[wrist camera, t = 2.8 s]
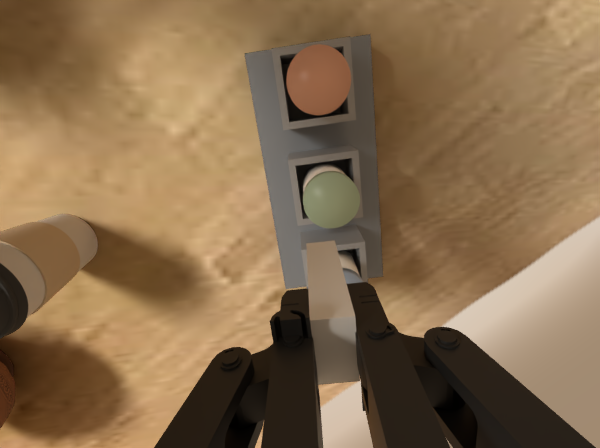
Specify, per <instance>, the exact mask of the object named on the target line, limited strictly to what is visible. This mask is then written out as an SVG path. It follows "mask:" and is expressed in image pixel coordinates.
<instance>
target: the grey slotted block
mask: <svg viewBox="0 0 600 448" xmlns="http://www.w3.org/2000/svg"><path fill="white" fill-rule="evenodd" d="M317 44H322V45H328V46H330V47H333V48H334V49H336V50H337V51H339V52H340V53H341V54H342V55H343V57H344V58H345V59H346V61H347V63H348V65H349V68H350V73H351V86H350V90H349V93H348V95H347V97H346V99H345V101H344V102H343V103H342V104H341V106H339V107H338V108H337V109H336V110H334V111H333V112H331V113H328V114H324V115H312V114H308V113H305V112H304V111H302V110H300V109H299V108H298V107H297V106H296V105H295V104H294V103H293V101H292V100H291V98H290V95H289V93H288V89H287V72H288V68H289V66H290V63H291V62H292V60H293V58H294V57H295V56H296V55H297V54H298V53H299V52H300V51H301V50H303V49H304V48H306V47H308V46H311V45H317ZM245 59H246V65H247V70H248V76H249V82H250V87H251V93H252V99H253V105H254V110H255V116H256V122H257V127H258V133H259V139H260V145H261V150H262V156H263V162H264V167H265V173H266V179H267V184H268V190H269V196H270V202H271V207H272V213H273V219H274V224H275V230H276V236H277V241H278V247H279V253H280V259H281V264H282V270H283V276H284V281H285V287H286V289H289V288H297V287H305V286H307V289H308V271H307V248H306V243H315V242H325V241H334V240H335V244H336V247H337V251H340V250H347V251H348V252H349V253H350V254H351V255H352V257H353V260H354V262H355V265H356V267H357V270H358V272H359V275H360V277H361V278H362V280H363V282H367V283H368V278H375V277H383V264H382V245H381V226H380V207H379V188H378V169H377V150H376V131H375V112H374V93H373V74H372V55H371V36H370V34H369V35H362V36H356V37H344V38H337V39H330V40H324V41H317V42H311V43H304V44H298V45H291V46H285V47H278V48H272V49H271V50H264V51H258V52H251V53H245ZM319 163H332V164H334V165H336V166H338V167H339V168H340V169H341V170H342V171H343V172H344V173H345V175H346V176H348V177H349V178H350V179H351V180H352V181H353V183H354V184H355V185H356V187H357V189H358V191H359V194H360V205H359V209H358V211H357V213H356V215H355V216H354V218H353V219H352V220H351V221H350V222H348V223H347V224H345V225H343V226H341V227H338V228H323V227H320V226H318V225H316V224H315V223H313V222H312V221H311V220H310V219H309V218H308V216H307V215H306V213H305V210H304V206H303V179H304V177H305V174H306V173H307V171H308V170H309V169H310V168H311V167H313V166H314V165H316V164H319Z"/></svg>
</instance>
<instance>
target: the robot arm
mask: <svg viewBox="0 0 600 448" xmlns="http://www.w3.org/2000/svg"><path fill="white" fill-rule="evenodd" d="M306 248H307V271H308V289H298V290H288V291H286V293H285V294H284V295H283V297H282V300H281V310H280V311H279V312H277V313H276V314H275V315H273V316H272V318H271V320H270V325H271V331H272V336H273V344H272V345H271V346H270V347H268V348H267V349H265V350H263V351H261V352H258V353H255V354H252V355H251V353H250V352H249V351H248V350H247V349H245V348H241V347H232V348H229V349H226V350H224V351H222V352H220V353H219V354H217V355H216V357H215V358H214V359H213V360H212V361H211V363H210V364H209V366H208V367H207V369H206V370H205V372H204V373H203V375H202V376H201V378H200V379H199V381H198V382H197V384H196V385H195V387H194V388H193V390H192V391H191V393H190V394H189V396H188V397H187V399H186V400H185V402H184V403H183V405H182V406H181V408H180V409H179V411H178V413H177V414H176V416H175V417H174V419H173V420H172V422H171V423H170V425H169V426H168V428H167V429H166V431H165V432H164V434H163V435H162V437H161V438H160V440H159V441H158V443H157V444H156V446H155V447H154V448H255V445H256V443H257V440H258V437H259V434H260V432H261V429H262V426H263V422H264V428H263V436H262V445H261V448H323V440H322V439H323V438H322V426H321V425H322V424H321V410H320V397H319V389H318V385H320V384H332V383H343V382H354V381H360V379H361V387H362V403H363V411H366V415H367V420H368V424H369V429H370V434H371V438H372V443H373V448H450V446H449V444H448V442H447V440H448V441H449V443H450V444H451V445H452V447H453V448H596V447H594V446H593V445H592V444H591V443H589V442H588V441H587V440H586V439H585V438H584V437H583V436H582V435H580V434H579V433H578V432H577V431H576V430H575V429H573V428H572V427H571V426H570V425H569V424H568V423H566V422H565V421H564V420H563V419H562V418H561V417H560V416H558V415H557V414H556V413H555V412H554V411H552V410H551V409H550V408H549V407H548V406H547V405H546V404H544V403H543V402H542V401H541V400H540V399H539V398H537V397H536V396H535V395H534V394H533V393H532V392H531V391H529V390H528V389H527V388H526V387H525V386H524V385H522V384H521V383H520V382H519V381H518V380H517V379H515V378H514V377H513V376H512V375H511V374H510V373H508V372H507V371H506V370H505V369H504V368H503V367H501V366H500V365H499V364H498V363H497V362H496V361H495V360H493V359H492V358H491V357H490V356H489V355H488V354H486V353H485V352H484V351H483V350H482V349H480V348H479V347H478V346H477V345H476V344H475V343H474V342H472V341H471V340H470V339H469V338H468V337H467V336H466V335H464V334H462V333H461V332H459V331H457V330H455V329H452V328H447V327H436V328H432V329H430V330H428V331H427V332H426V333H425V335H424V338H420V337H412V336H408V335H404V334H402V333H399V332H398V330H397V329H396V327H395V326H394V325H392V324H391V323H389V321H388V319H387V317H386V314H385V312H384V310H383V307H382V305H381V303H380V301H379V298H378V296H377V293H376V291H375V289H374V287H373V286H371V285H370V284H369V283H367V282H360V283H350V284H346V280H345V276H344V273H343V269H342V266H341V262H340V258H339V255H338V251H337V247H336V244H335V240H334V241H325V242H315V243H306ZM359 375H360V377H359ZM446 438H447V440H446Z"/></svg>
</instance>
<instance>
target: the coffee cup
mask: <svg viewBox="0 0 600 448" xmlns="http://www.w3.org/2000/svg"><path fill="white" fill-rule="evenodd" d="M97 249H98V241H97V237H96V234H95V232H94V231H93V229H92V228H91V227H90V226H89V225H88V224H87V223H86V222H85V221H84V220H82V219H80V218H78V217H76V216H73V215H69V214H59V215H55V216H52V217H49V218H46V219H43V220H40V221H37V222H30V223H26V224H23V225H20V226H17V227H13V228H10V229H7V230H4V231H1V232H0V339H1V338H2V337H4V336H6V335H9V334H11V333H13V332H15V331H16V330H18V329H19V328H20V327H21V326H22V325H23V323H24V322H25V320H26V318H27V317H28V316H29V315H31V314H33V313H35V312H36V311H38V310H39V309H40V308H41V307H42V306H43V305H44V304H45V303H46V302H47V301H49V300H50V299H51V298H52V297H53V296H54V295H55V294H56V293H57V292H58V291H59V290H60V289H62V288H63V287H64V286H65V285H66V284H67V283H68V282H69V281H70V280H71V279H72V278H73V277H74V276H75V275H76V274H77V272H78V271H79V270H81V269H82V268H83V267H84V266H85V265H86V264H87V263H88V262H89V261H91V260H92V259H93V258H94V256H95V255H96V253H97Z"/></svg>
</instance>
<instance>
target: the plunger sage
mask: <svg viewBox="0 0 600 448" xmlns="http://www.w3.org/2000/svg"><path fill="white" fill-rule="evenodd" d="M359 205H360V194H359V191H358V189H357V187H356V185H355V184H354V183H353V181H352V180H351V179H350V178H349V177H348V176H346V175H345V173H344V172H343V171H342V170H341V169H340V168H339V167H338V166H336V165H334V164H332V163H319V164H316V165H314V166H313V167H311V168H310V169H309V170H308V171H307V173H306V174H305V177H304V179H303V206H304V210H305V213H306V215H307V216H308V218H309V219H310V220H311V221H312V222H313V223H315V224H316V225H318V226H320V227H323V228H338V227H341V226H343V225H345V224H347V223H348V222H350V221H351V220H352V219H353V218H354V216H355V215H356V213H357V211H358V209H359Z"/></svg>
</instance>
